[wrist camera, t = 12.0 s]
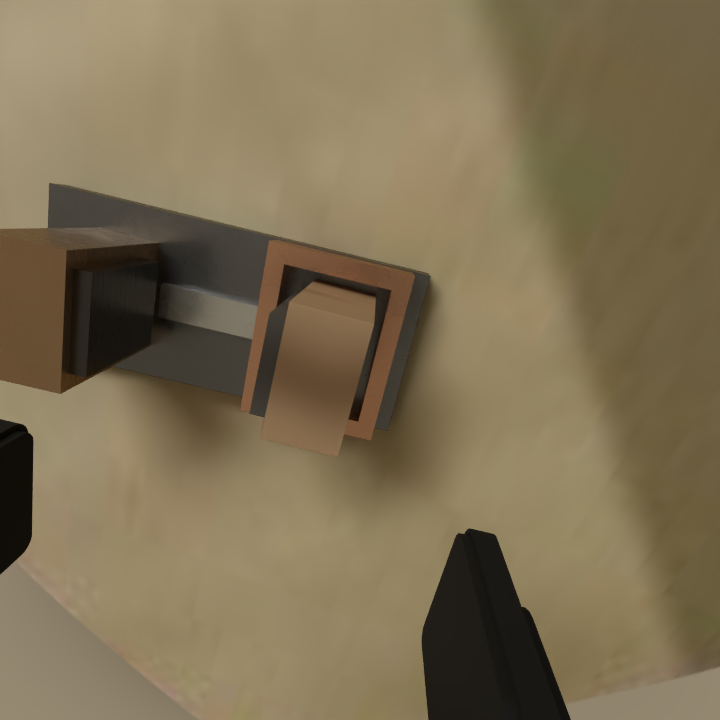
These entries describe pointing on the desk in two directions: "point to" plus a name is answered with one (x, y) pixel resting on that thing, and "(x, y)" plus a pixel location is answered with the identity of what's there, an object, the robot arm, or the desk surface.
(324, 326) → the small cardboard box
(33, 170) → the desk surface
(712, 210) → the desk surface
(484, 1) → the desk surface
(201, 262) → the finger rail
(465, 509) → the desk surface
